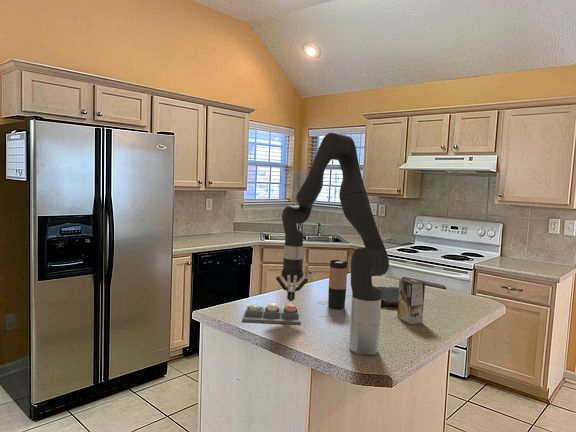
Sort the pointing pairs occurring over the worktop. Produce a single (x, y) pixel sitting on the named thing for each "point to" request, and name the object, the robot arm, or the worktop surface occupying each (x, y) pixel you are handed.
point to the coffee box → (411, 301)
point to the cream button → (272, 307)
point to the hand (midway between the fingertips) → (290, 300)
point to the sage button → (254, 307)
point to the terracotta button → (290, 308)
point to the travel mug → (337, 284)
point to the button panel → (272, 316)
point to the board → (389, 296)
